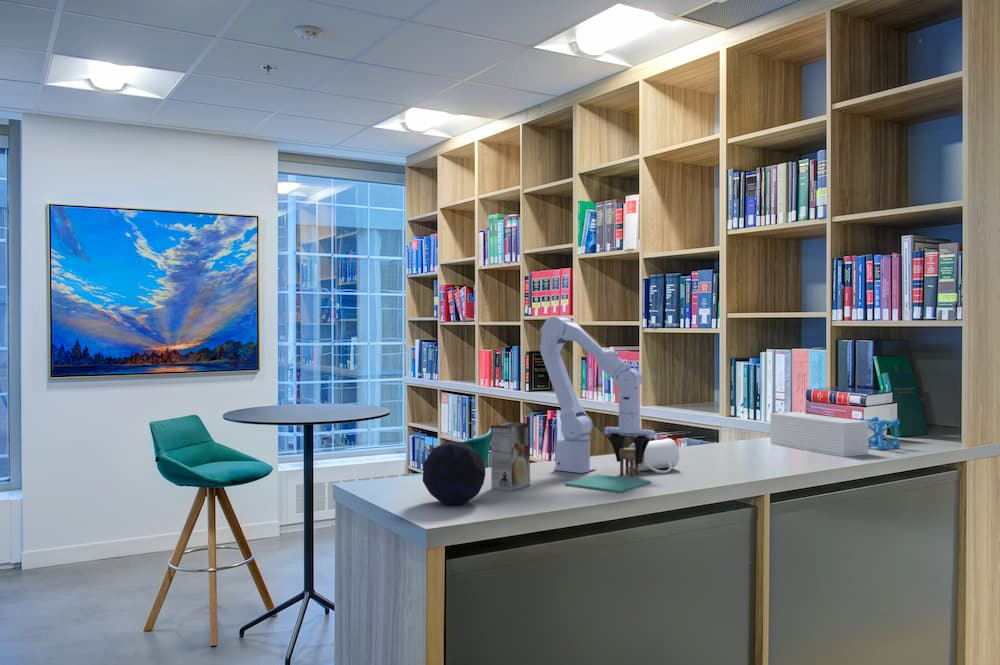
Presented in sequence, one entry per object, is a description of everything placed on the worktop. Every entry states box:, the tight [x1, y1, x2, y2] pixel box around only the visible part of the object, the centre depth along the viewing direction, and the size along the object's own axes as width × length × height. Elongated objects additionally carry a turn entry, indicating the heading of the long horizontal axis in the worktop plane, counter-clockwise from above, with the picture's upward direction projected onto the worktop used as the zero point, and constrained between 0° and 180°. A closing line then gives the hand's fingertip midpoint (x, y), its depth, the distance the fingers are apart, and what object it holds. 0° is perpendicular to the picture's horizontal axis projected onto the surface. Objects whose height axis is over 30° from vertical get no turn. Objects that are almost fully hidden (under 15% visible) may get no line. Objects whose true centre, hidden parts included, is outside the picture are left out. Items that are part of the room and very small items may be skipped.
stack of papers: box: [769, 411, 870, 457], centre depth 264 cm, size 32×11×11 cm, turn 24°
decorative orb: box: [422, 441, 486, 506], centre depth 182 cm, size 14×15×15 cm
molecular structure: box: [856, 415, 901, 451], centre depth 265 cm, size 10×10×10 cm
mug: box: [628, 437, 680, 474], centre depth 224 cm, size 12×8×12 cm
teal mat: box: [564, 473, 651, 494], centre depth 204 cm, size 16×16×1 cm
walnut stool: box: [619, 447, 639, 477], centre depth 217 cm, size 5×5×7 cm
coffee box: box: [490, 421, 531, 492], centre depth 201 cm, size 9×6×16 cm
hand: (629, 462), depth 217 cm, fingers closed on walnut stool, 5 cm apart
